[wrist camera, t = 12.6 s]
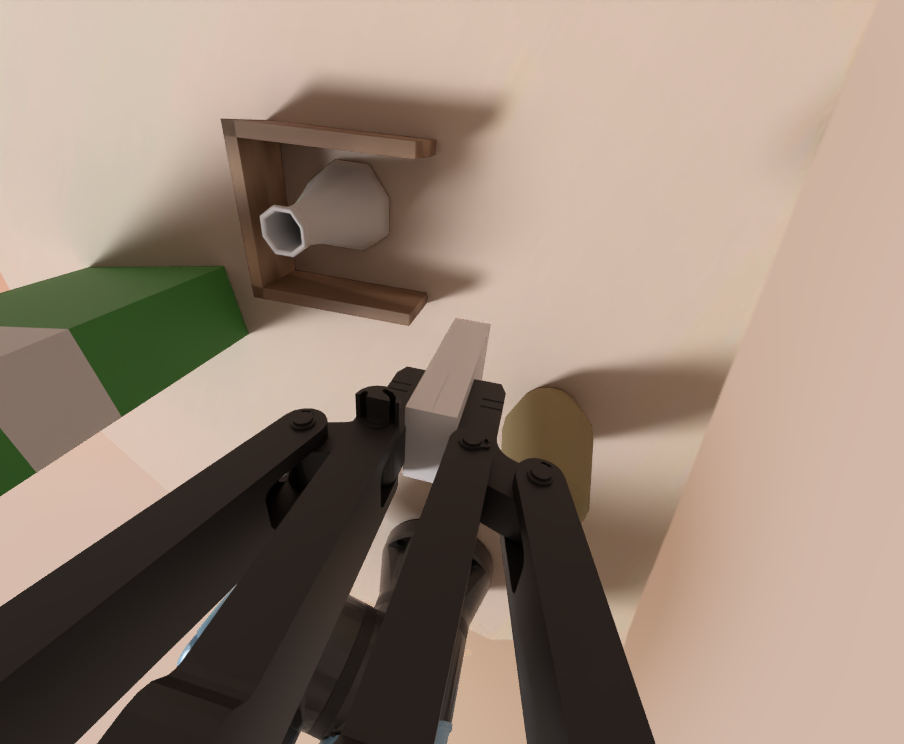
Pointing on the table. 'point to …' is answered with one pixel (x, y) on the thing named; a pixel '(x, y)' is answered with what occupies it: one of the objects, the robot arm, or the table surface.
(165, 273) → the hardback book
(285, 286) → the box
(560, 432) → the squeeze bottle
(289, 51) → the table surface
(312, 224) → the flask
